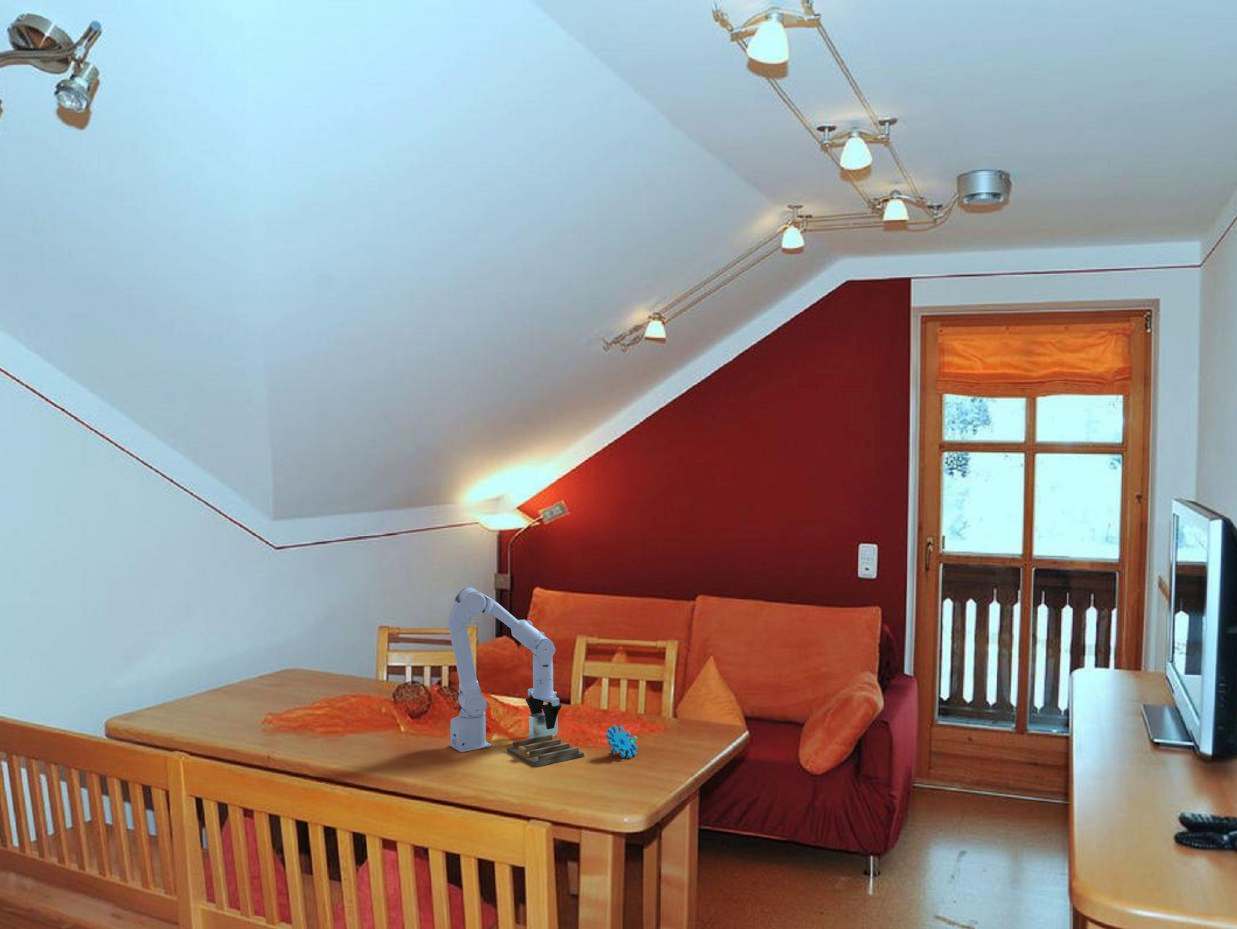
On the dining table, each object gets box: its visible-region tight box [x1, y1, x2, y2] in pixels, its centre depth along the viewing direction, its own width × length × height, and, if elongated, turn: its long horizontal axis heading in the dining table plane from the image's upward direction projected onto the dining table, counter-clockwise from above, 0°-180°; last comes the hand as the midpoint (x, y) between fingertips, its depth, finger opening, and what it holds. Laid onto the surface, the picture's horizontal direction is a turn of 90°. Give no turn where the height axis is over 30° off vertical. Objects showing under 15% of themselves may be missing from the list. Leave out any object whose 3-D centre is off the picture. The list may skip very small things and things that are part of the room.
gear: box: [605, 724, 639, 759], centre depth 283 cm, size 11×6×10 cm
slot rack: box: [506, 734, 585, 768], centre depth 283 cm, size 15×16×3 cm
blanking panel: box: [528, 712, 559, 739], centre depth 298 cm, size 8×2×7 cm, turn 124°
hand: (543, 725), depth 298 cm, fingers open, 7 cm apart
